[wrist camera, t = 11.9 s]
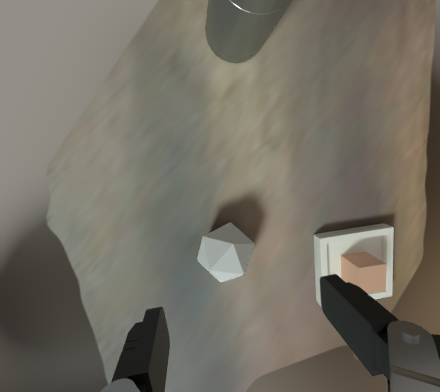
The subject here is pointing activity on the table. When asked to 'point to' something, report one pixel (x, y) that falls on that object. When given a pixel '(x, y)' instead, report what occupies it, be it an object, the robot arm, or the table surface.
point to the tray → (349, 244)
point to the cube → (364, 271)
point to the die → (225, 252)
